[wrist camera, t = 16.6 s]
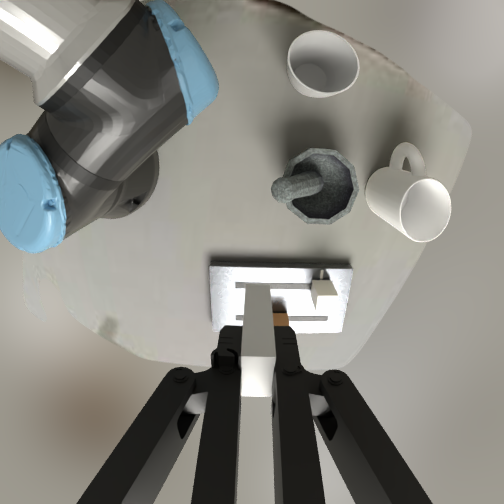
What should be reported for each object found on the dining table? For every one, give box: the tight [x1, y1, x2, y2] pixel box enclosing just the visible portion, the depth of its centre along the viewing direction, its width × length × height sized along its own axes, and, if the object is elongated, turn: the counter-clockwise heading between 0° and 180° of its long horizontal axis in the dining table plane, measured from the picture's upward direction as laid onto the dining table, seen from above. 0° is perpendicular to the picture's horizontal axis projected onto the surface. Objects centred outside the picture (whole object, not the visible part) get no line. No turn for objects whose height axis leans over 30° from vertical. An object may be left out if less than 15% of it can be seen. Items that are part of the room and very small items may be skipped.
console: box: [209, 261, 353, 333], centre depth 47 cm, size 22×12×2 cm, turn 89°
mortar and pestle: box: [271, 148, 359, 224], centre depth 35 cm, size 11×9×12 cm
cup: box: [287, 30, 359, 98], centre depth 31 cm, size 8×8×10 cm
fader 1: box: [273, 313, 289, 326], centre depth 44 cm, size 3×3×5 cm
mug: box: [365, 142, 451, 242], centre depth 35 cm, size 8×12×12 cm
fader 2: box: [311, 280, 339, 312], centre depth 42 cm, size 3×3×5 cm
